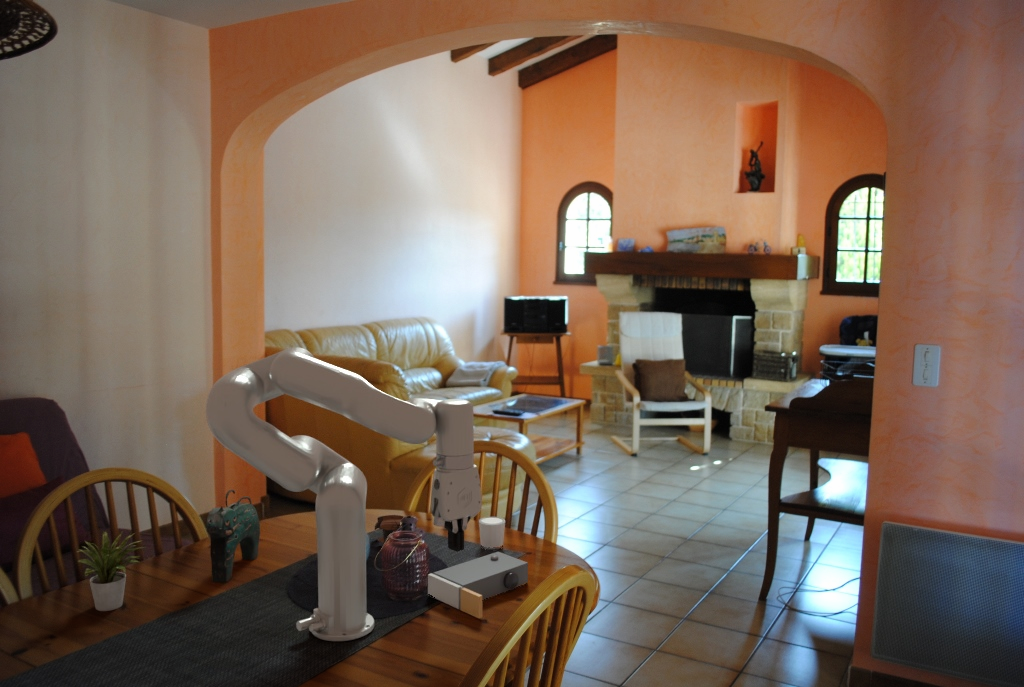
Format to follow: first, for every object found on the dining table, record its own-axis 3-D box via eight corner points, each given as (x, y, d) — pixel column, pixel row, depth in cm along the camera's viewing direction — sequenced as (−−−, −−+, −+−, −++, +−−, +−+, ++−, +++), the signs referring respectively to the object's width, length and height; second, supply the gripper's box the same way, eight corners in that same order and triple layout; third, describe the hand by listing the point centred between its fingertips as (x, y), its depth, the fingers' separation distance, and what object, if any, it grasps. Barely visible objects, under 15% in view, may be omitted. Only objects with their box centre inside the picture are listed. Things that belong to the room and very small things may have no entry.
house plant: (114, 626, 172) (111, 547, 171) (54, 619, 175) (51, 542, 173) (157, 598, 186) (154, 525, 185) (101, 592, 189) (98, 521, 187)
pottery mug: (366, 548, 221) (367, 516, 224) (386, 553, 228) (386, 523, 232) (407, 542, 216) (407, 509, 220) (425, 548, 224) (425, 516, 228)
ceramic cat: (226, 586, 193) (224, 500, 191) (200, 584, 194) (197, 498, 192) (265, 555, 213) (263, 477, 211) (241, 554, 214) (239, 476, 212)
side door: (478, 618, 177) (478, 596, 176) (427, 595, 189) (427, 574, 188) (482, 617, 178) (482, 595, 177) (431, 593, 189) (431, 573, 189)
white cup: (504, 551, 218) (504, 524, 217) (477, 550, 218) (477, 524, 217) (505, 542, 224) (505, 516, 224) (479, 541, 225) (479, 515, 224)
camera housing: (465, 609, 182) (465, 584, 181) (432, 594, 190) (432, 570, 189) (531, 585, 196) (531, 561, 195) (498, 571, 204) (498, 549, 203)
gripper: (438, 471, 164) (439, 563, 166) (495, 457, 174) (495, 544, 176) (414, 464, 169) (415, 553, 171) (470, 451, 179) (471, 536, 181)
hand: (456, 549), depth 174 cm, fingers closed
